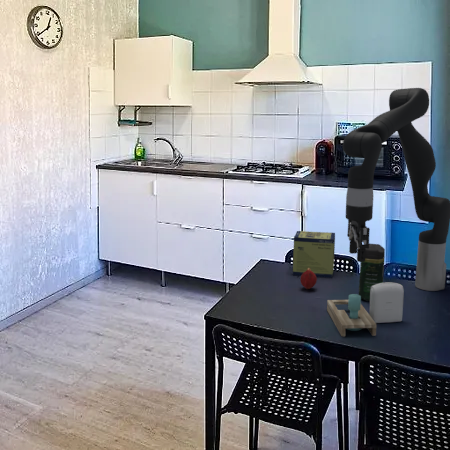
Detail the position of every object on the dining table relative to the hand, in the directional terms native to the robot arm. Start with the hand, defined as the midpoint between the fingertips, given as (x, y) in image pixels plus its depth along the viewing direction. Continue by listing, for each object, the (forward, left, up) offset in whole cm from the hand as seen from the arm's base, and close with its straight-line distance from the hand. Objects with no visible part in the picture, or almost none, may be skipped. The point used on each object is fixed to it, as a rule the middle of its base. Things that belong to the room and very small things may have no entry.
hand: (356, 257), depth 161 cm
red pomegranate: (+8, -34, -22) cm, 41 cm away
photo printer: (-11, -4, -22) cm, 25 cm away
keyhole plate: (0, -4, -22) cm, 22 cm away
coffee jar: (-12, -25, -22) cm, 35 cm away
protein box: (+2, -53, -22) cm, 57 cm away
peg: (0, 0, -22) cm, 22 cm away
